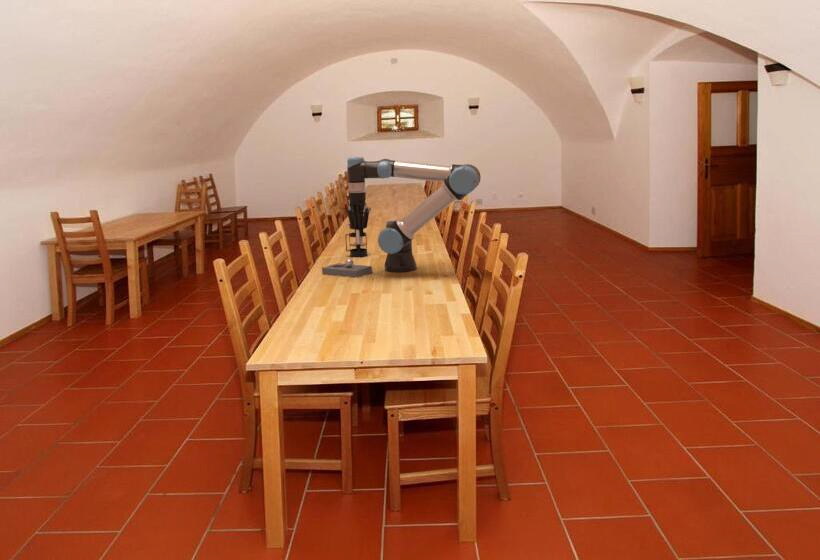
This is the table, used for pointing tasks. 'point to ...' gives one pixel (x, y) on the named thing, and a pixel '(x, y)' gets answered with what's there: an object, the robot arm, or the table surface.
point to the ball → (349, 262)
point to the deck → (347, 270)
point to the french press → (357, 246)
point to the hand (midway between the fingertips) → (359, 243)
